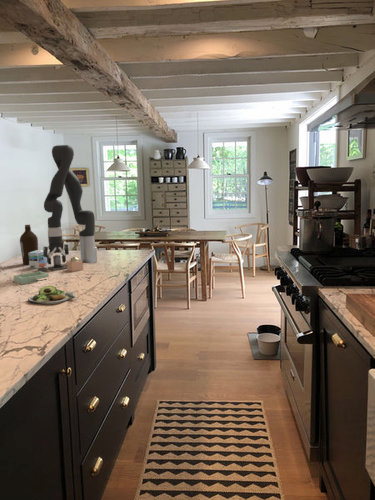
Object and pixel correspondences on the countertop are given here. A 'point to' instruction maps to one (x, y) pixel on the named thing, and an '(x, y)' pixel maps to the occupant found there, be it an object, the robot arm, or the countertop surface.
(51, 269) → the bulb tester base
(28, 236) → the olive oil
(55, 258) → the grey cell
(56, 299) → the salad plate
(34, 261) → the light bulb box
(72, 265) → the tan square box
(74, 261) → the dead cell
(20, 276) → the green trough
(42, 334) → the countertop surface
